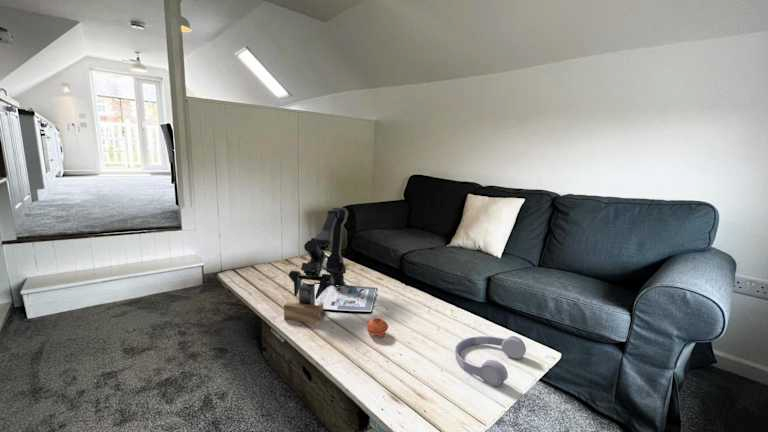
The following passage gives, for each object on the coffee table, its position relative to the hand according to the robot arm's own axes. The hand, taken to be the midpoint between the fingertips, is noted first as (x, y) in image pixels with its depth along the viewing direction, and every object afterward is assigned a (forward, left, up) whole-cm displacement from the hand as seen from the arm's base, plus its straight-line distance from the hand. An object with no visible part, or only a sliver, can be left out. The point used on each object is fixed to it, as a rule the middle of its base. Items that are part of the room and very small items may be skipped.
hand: (305, 297), depth 140 cm
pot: (+33, +4, -8) cm, 34 cm away
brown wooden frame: (0, +1, -8) cm, 8 cm away
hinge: (-32, +50, -8) cm, 60 cm away
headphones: (+71, +11, -9) cm, 72 cm away
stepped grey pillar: (0, +1, -8) cm, 8 cm away
